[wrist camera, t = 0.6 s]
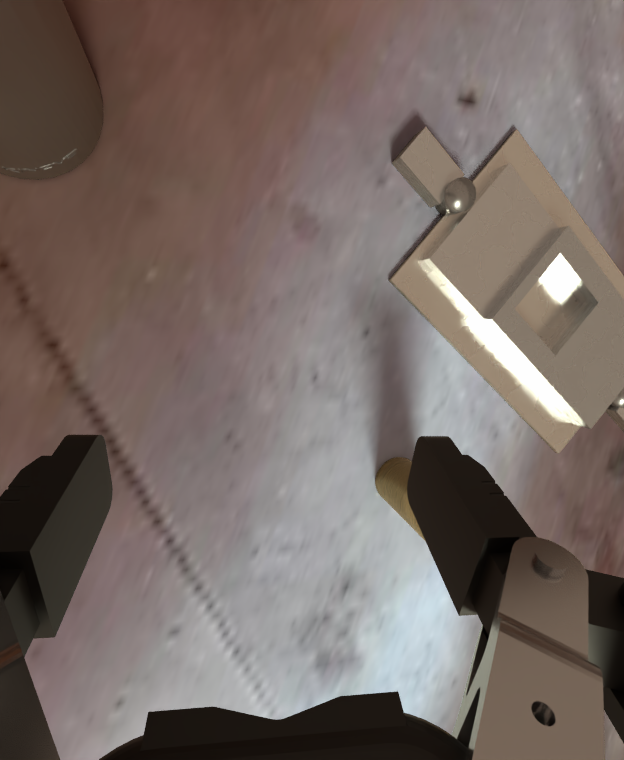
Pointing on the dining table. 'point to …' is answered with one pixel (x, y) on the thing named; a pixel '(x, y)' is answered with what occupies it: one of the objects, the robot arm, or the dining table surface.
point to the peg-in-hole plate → (518, 286)
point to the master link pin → (397, 488)
